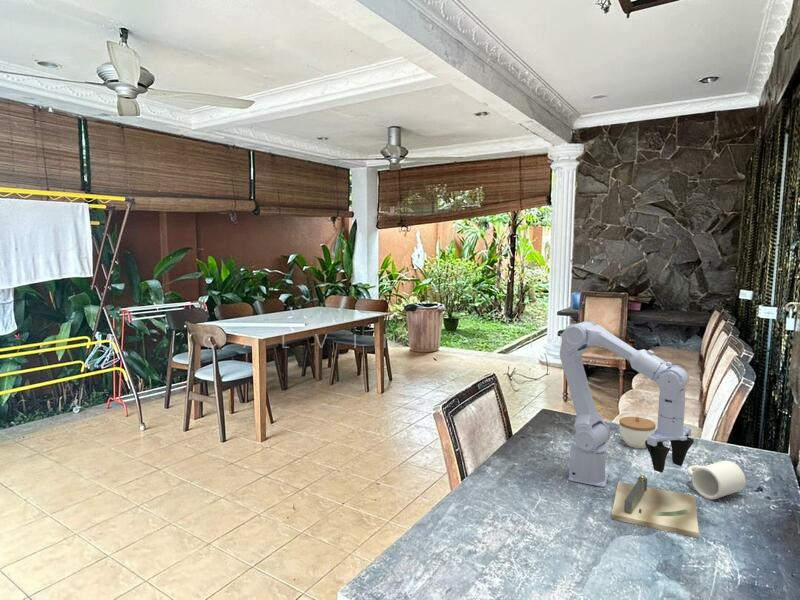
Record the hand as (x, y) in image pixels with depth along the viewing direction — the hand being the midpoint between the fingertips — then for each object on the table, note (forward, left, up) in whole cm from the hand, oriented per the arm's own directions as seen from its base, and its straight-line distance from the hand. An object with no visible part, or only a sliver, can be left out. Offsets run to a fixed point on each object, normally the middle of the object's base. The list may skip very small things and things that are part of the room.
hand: (667, 467), depth 129 cm
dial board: (-3, -5, -9) cm, 11 cm away
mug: (+10, +12, -10) cm, 19 cm away
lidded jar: (-9, +38, -10) cm, 41 cm away
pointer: (-7, -4, -8) cm, 11 cm away
